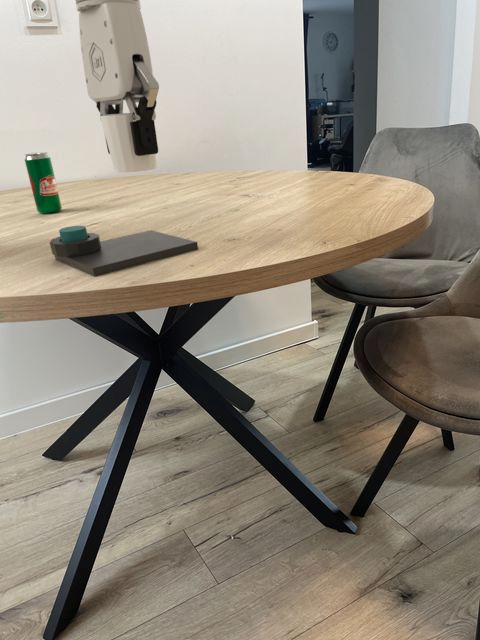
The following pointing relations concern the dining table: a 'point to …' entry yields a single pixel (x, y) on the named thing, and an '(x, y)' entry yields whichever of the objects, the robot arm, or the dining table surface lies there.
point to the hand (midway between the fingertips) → (132, 152)
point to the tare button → (73, 233)
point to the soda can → (43, 182)
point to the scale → (118, 251)
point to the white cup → (124, 144)
